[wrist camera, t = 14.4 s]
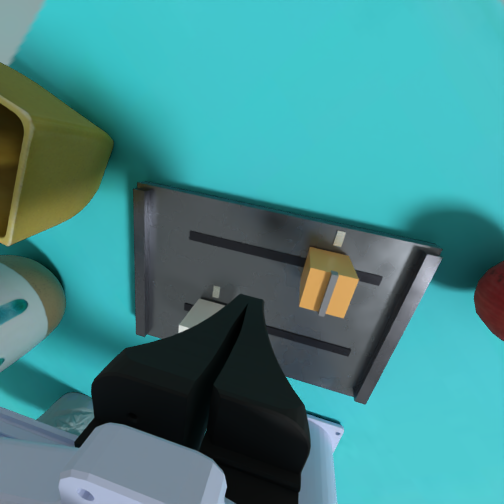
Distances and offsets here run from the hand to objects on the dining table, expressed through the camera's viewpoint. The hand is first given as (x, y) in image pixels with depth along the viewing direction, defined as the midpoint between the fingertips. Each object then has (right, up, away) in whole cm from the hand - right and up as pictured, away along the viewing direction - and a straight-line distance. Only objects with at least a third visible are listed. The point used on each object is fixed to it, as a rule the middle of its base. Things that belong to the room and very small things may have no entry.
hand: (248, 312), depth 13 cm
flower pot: (-15, +12, +9) cm, 21 cm away
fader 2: (+6, +2, +7) cm, 9 cm away
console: (+1, -1, +10) cm, 10 cm away
